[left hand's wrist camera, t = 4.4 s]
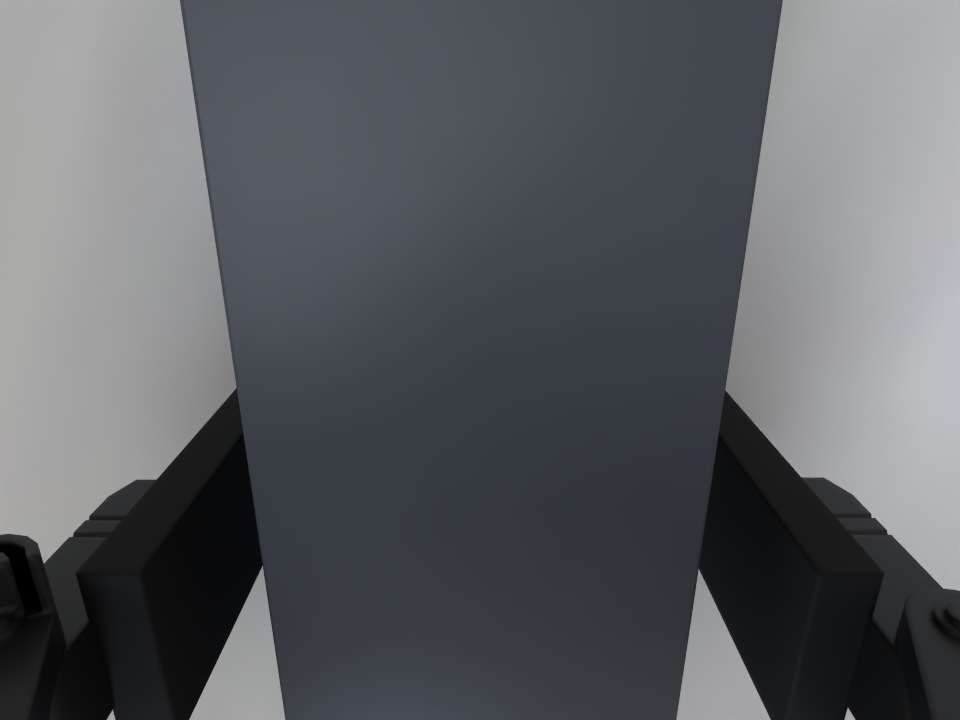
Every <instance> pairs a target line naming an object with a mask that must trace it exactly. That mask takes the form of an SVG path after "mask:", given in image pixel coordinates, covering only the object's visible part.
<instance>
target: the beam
mask: <svg viewBox="0 0 960 720" xmlns="http://www.w3.org/2000/svg"><path fill="white" fill-rule="evenodd" d="M782 1H783V0H180V3H181V10H182V17H183V23H184V30H185V37H186V44H187V51H188V58H189V64H190V71H191V78H192V85H193V92H194V99H195V105H196V112H197V119H198V126H199V133H200V139H201V146H202V153H203V160H204V167H205V174H206V180H207V187H208V194H209V201H210V208H211V215H212V221H213V228H214V235H215V242H216V249H217V255H218V262H219V269H220V276H221V283H222V290H223V296H224V303H225V310H226V317H227V324H228V331H229V337H230V344H231V351H232V358H233V365H234V371H235V378H236V385H237V392H238V399H239V406H240V412H241V419H242V426H243V433H244V440H245V447H246V453H247V460H248V467H249V474H250V481H251V487H252V494H253V501H254V508H255V515H256V522H257V528H258V535H259V542H260V549H261V556H262V563H263V569H264V576H265V583H266V590H267V597H268V603H269V610H270V617H271V624H272V631H273V638H274V644H275V651H276V658H277V665H278V672H279V679H280V685H281V692H282V699H283V706H284V713H285V719H286V720H676V718H677V711H678V704H679V697H680V691H681V684H682V677H683V670H684V664H685V657H686V650H687V643H688V637H689V630H690V623H691V616H692V610H693V603H694V596H695V589H696V583H697V576H698V569H699V562H700V555H701V549H702V542H703V535H704V528H705V522H706V515H707V508H708V501H709V495H710V488H711V481H712V474H713V468H714V461H715V454H716V447H717V440H718V434H719V427H720V420H721V413H722V407H723V400H724V393H725V386H726V380H727V373H728V366H729V359H730V353H731V346H732V339H733V332H734V325H735V319H736V312H737V305H738V298H739V292H740V285H741V278H742V271H743V265H744V258H745V251H746V244H747V238H748V231H749V224H750V217H751V210H752V204H753V197H754V190H755V183H756V177H757V170H758V163H759V156H760V150H761V143H762V136H763V129H764V123H765V116H766V109H767V102H768V96H769V89H770V82H771V75H772V68H773V62H774V55H775V48H776V41H777V35H778V28H779V21H780V14H781V8H782Z"/></svg>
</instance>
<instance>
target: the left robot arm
mask: <svg viewBox="0 0 960 720" xmlns="http://www.w3.org/2000/svg"><path fill="white" fill-rule="evenodd" d="M262 566H263V563H262V556H261V549H260V542H259V535H258V528H257V522H256V515H255V508H254V501H253V494H252V487H251V481H250V474H249V467H248V460H247V453H246V447H245V440H244V433H243V426H242V419H241V412H240V406H239V399H238V392H237V388H236V390H235V391H234V392H233V393H232V394H231V395H230V396H229V398H228V399H227V400H226V401H225V402H224V403H223V404H222V406H221V407H220V408H219V409H218V410H217V411H216V412H215V414H214V415H213V416H212V417H211V418H210V419H209V420H208V422H207V423H206V424H205V425H204V426H203V427H202V429H201V430H200V431H199V432H198V433H197V434H196V435H195V437H194V438H193V439H192V440H191V441H190V442H189V443H188V445H187V446H186V447H185V448H184V449H183V450H182V451H181V453H180V454H179V455H178V456H177V457H176V458H175V459H174V461H173V462H172V463H171V464H170V465H169V466H168V467H167V469H166V470H165V471H164V472H163V473H162V474H161V476H160V477H159V478H158V479H157V480H136V481H134V482H132V483H130V484H129V485H127V486H125V487H124V488H122V489H120V490H119V491H117V492H115V493H114V494H112V495H110V496H109V497H108V498H107V499H106V500H105V501H104V502H103V503H102V504H101V505H100V506H99V507H98V508H97V509H96V510H95V511H94V512H93V513H92V514H91V515H90V516H89V520H85V522H84V523H83V524H82V525H81V526H80V527H79V528H78V529H77V530H76V531H75V532H74V535H73V537H69V538H68V539H67V540H66V541H65V542H64V543H63V544H62V546H61V547H60V548H59V549H58V550H57V551H56V552H55V553H54V554H53V555H52V556H51V557H50V558H49V559H48V560H47V561H46V562H45V563H44V564H43V560H42V557H41V553H40V550H39V547H38V543H36V542H35V541H33V540H32V539H30V538H29V537H27V536H21V535H13V534H4V535H0V720H107V718H108V716H109V715H110V713H111V711H112V710H113V712H114V715H115V719H116V720H189V719H190V717H191V715H192V712H193V710H194V708H195V706H196V704H197V702H198V700H199V698H200V696H201V694H202V691H203V689H204V687H205V685H206V683H207V681H208V679H209V677H210V675H211V673H212V671H213V668H214V666H215V664H216V662H217V660H218V658H219V656H220V654H221V652H222V650H223V647H224V645H225V643H226V641H227V639H228V637H229V635H230V633H231V631H232V629H233V626H234V624H235V622H236V620H237V618H238V616H239V614H240V612H241V610H242V608H243V605H244V603H245V601H246V599H247V597H248V595H249V593H250V591H251V589H252V587H253V584H254V582H255V580H256V578H257V576H258V574H259V572H260V570H261V568H262ZM699 570H700V572H701V574H702V576H703V578H704V580H705V582H706V585H707V587H708V589H709V591H710V593H711V595H712V597H713V599H714V601H715V603H716V605H717V608H718V610H719V612H720V614H721V616H722V618H723V620H724V622H725V624H726V626H727V629H728V631H729V633H730V635H731V637H732V639H733V641H734V643H735V645H736V647H737V650H738V652H739V654H740V656H741V658H742V660H743V662H744V664H745V666H746V668H747V671H748V673H749V675H750V677H751V679H752V681H753V683H754V685H755V687H756V689H757V692H758V694H759V696H760V698H761V700H762V702H763V704H764V706H765V708H766V710H767V713H768V715H769V717H770V719H771V720H844V719H845V715H846V712H847V708H849V710H850V711H851V713H852V715H853V716H854V718H855V719H856V720H960V591H957V590H950V589H943V588H942V587H941V586H940V585H939V584H938V583H937V582H936V581H935V580H934V579H933V578H932V577H931V576H930V575H929V573H928V572H927V571H926V570H925V569H924V568H923V567H922V566H921V565H920V564H919V563H918V562H917V561H916V560H915V559H914V558H913V557H912V556H911V555H910V554H909V553H908V552H907V551H906V550H905V549H904V548H903V547H902V546H901V545H900V543H899V542H898V541H897V540H896V539H895V538H894V537H893V536H892V535H888V534H887V530H886V529H885V528H884V527H883V526H882V525H881V524H880V523H879V522H878V521H877V520H876V519H875V518H871V513H870V512H869V511H868V510H867V509H866V508H865V507H864V506H863V505H862V504H861V503H860V502H859V501H858V500H857V499H856V498H855V497H854V496H853V495H852V494H850V493H849V492H847V491H845V490H844V489H842V488H840V487H839V486H837V485H835V484H834V483H832V482H830V481H829V480H827V479H825V478H801V477H800V476H799V474H798V473H797V472H796V471H795V470H794V469H793V468H792V466H791V465H790V464H789V463H788V462H787V461H786V459H785V458H784V457H783V456H782V455H781V454H780V453H779V451H778V450H777V449H776V448H775V447H774V446H773V445H772V443H771V442H770V441H769V440H768V439H767V438H766V437H765V435H764V434H763V433H762V432H761V431H760V430H759V429H758V427H757V426H756V425H755V424H754V423H753V422H752V421H751V419H750V418H749V417H748V416H747V415H746V414H745V412H744V411H743V410H742V409H741V408H740V407H739V406H738V404H737V403H736V402H735V401H734V400H733V399H732V398H731V396H730V395H729V394H728V393H727V392H726V391H725V393H724V400H723V407H722V413H721V420H720V427H719V434H718V440H717V447H716V454H715V461H714V468H713V474H712V481H711V488H710V495H709V501H708V508H707V515H706V522H705V528H704V535H703V542H702V549H701V555H700V562H699Z"/></svg>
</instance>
